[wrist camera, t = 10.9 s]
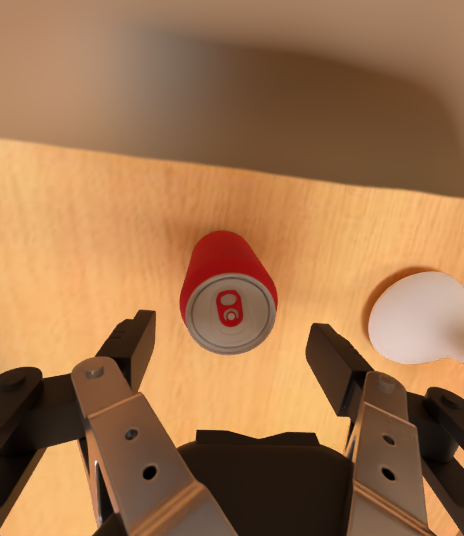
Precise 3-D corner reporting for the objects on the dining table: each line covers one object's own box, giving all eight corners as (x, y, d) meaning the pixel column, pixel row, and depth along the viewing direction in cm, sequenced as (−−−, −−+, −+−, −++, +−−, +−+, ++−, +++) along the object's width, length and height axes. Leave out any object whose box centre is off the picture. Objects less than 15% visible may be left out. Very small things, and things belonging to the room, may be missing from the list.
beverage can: (198, 291, 26) (187, 371, 15) (186, 234, 24) (162, 275, 13) (255, 282, 26) (288, 353, 15) (248, 224, 24) (280, 256, 13)
